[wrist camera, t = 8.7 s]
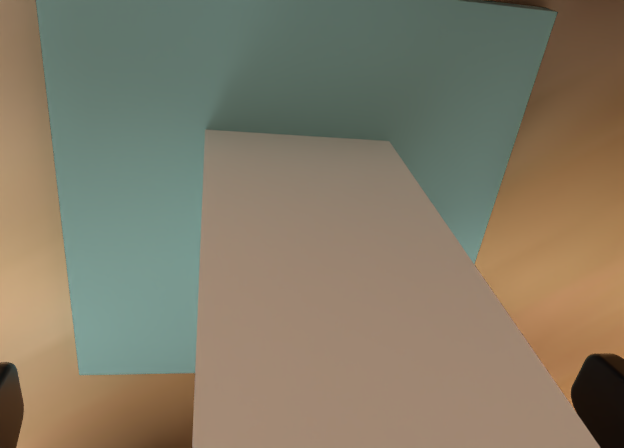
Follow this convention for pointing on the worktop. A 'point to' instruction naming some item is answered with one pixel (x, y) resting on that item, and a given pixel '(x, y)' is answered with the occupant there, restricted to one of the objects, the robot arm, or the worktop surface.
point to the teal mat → (256, 130)
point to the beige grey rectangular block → (351, 311)
